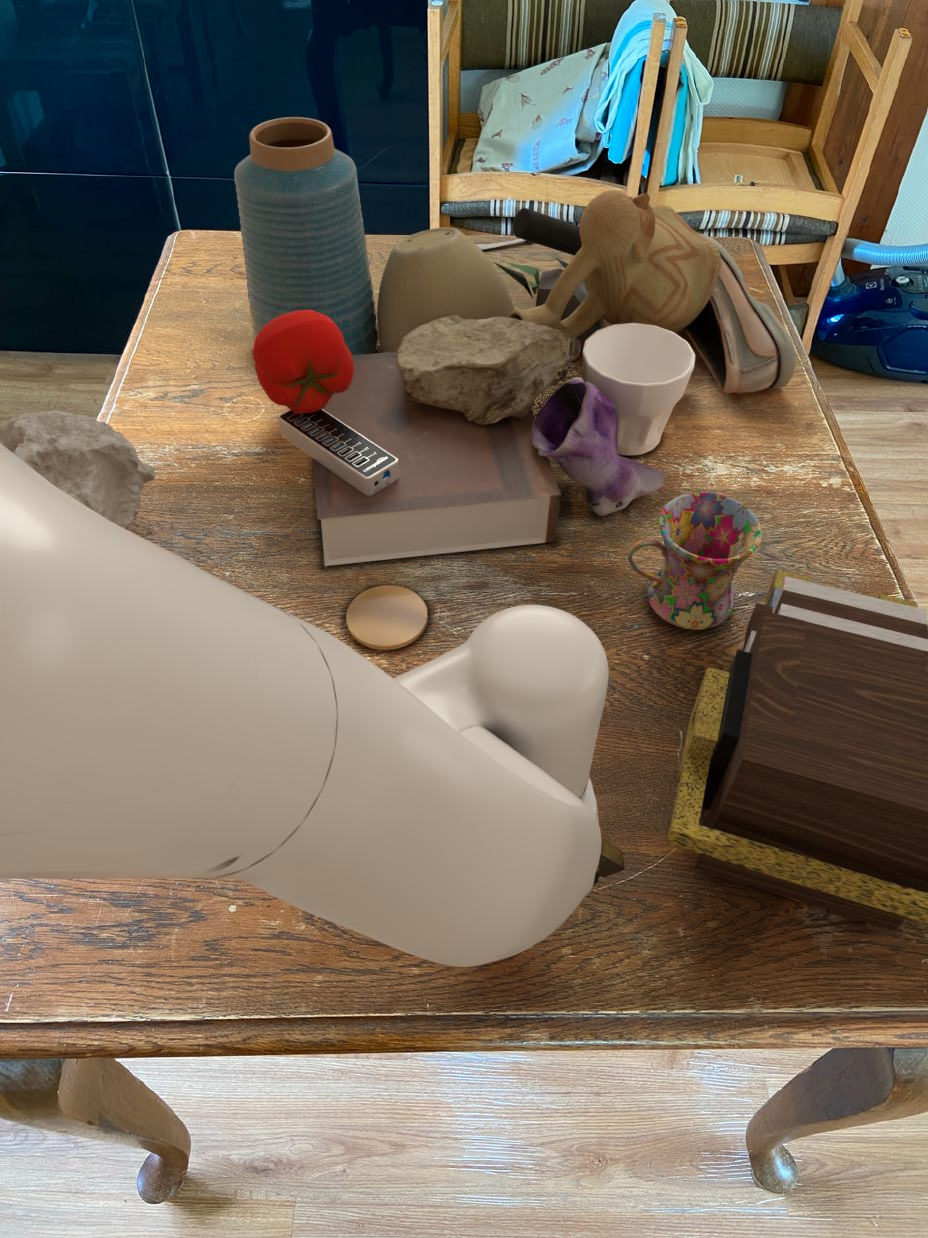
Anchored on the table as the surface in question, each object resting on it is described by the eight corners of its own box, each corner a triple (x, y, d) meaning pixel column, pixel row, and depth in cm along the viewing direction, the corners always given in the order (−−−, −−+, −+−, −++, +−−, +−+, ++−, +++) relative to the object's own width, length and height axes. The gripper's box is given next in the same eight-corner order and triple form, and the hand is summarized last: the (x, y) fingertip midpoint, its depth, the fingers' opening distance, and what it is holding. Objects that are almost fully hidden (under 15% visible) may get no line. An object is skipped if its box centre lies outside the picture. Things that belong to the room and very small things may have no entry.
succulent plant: (483, 348, 120) (485, 287, 114) (501, 273, 133) (503, 215, 127) (602, 358, 119) (610, 298, 112) (608, 281, 132) (616, 223, 125)
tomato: (319, 284, 88) (342, 332, 86) (350, 352, 98) (371, 397, 96) (228, 326, 88) (248, 376, 86) (269, 390, 98) (288, 436, 96)
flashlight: (639, 255, 133) (640, 288, 133) (508, 211, 120) (508, 248, 119) (665, 242, 129) (665, 276, 129) (531, 195, 115) (532, 233, 115)
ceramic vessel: (764, 252, 108) (642, 227, 91) (668, 384, 120) (544, 383, 103) (674, 171, 114) (544, 134, 97) (592, 304, 126) (464, 292, 110)
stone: (139, 509, 87) (70, 609, 93) (191, 440, 101) (128, 531, 108) (-31, 399, 81) (-90, 513, 88) (49, 342, 95) (-7, 444, 102)
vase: (232, 341, 121) (187, 128, 101) (332, 300, 128) (309, 93, 108) (301, 396, 113) (268, 176, 93) (404, 349, 120) (393, 135, 100)
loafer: (691, 205, 122) (628, 222, 121) (811, 332, 106) (740, 353, 105) (681, 274, 131) (622, 291, 130) (791, 401, 115) (725, 422, 113)
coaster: (427, 649, 86) (427, 645, 86) (343, 651, 86) (343, 647, 86) (427, 588, 92) (427, 584, 91) (348, 589, 92) (348, 585, 91)
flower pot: (325, 265, 112) (354, 358, 119) (434, 265, 101) (459, 368, 108) (418, 215, 121) (439, 304, 128) (526, 210, 110) (543, 307, 118)
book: (506, 388, 114) (508, 342, 109) (555, 541, 96) (560, 494, 91) (312, 405, 112) (305, 359, 107) (324, 566, 93) (317, 519, 88)
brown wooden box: (706, 624, 90) (650, 886, 70) (743, 508, 79) (691, 777, 59) (929, 681, 85) (938, 978, 65) (999, 567, 75) (1036, 877, 55)
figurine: (539, 476, 91) (634, 542, 99) (605, 394, 89) (697, 469, 97) (508, 441, 99) (598, 505, 107) (568, 364, 96) (656, 436, 104)
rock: (411, 452, 100) (587, 403, 95) (379, 372, 95) (562, 316, 89) (433, 394, 113) (589, 348, 108) (406, 321, 108) (567, 269, 103)
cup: (670, 403, 112) (688, 323, 104) (683, 468, 104) (703, 386, 96) (570, 401, 112) (579, 320, 104) (575, 465, 104) (585, 383, 96)
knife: (555, 231, 142) (556, 226, 141) (561, 237, 140) (561, 232, 140) (438, 252, 139) (438, 247, 138) (442, 259, 137) (442, 253, 136)
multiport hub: (311, 416, 99) (308, 399, 98) (401, 477, 93) (400, 459, 91) (279, 434, 97) (276, 416, 95) (368, 497, 90) (367, 479, 89)
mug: (718, 565, 94) (742, 487, 86) (748, 633, 88) (777, 555, 80) (605, 576, 93) (619, 498, 85) (628, 646, 87) (646, 568, 79)
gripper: (373, 842, 51) (391, 962, 64) (678, 835, 51) (631, 956, 65) (378, 730, 55) (393, 864, 69) (656, 724, 56) (617, 859, 69)
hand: (508, 907), depth 67 cm, fingers closed on fruit, 5 cm apart
